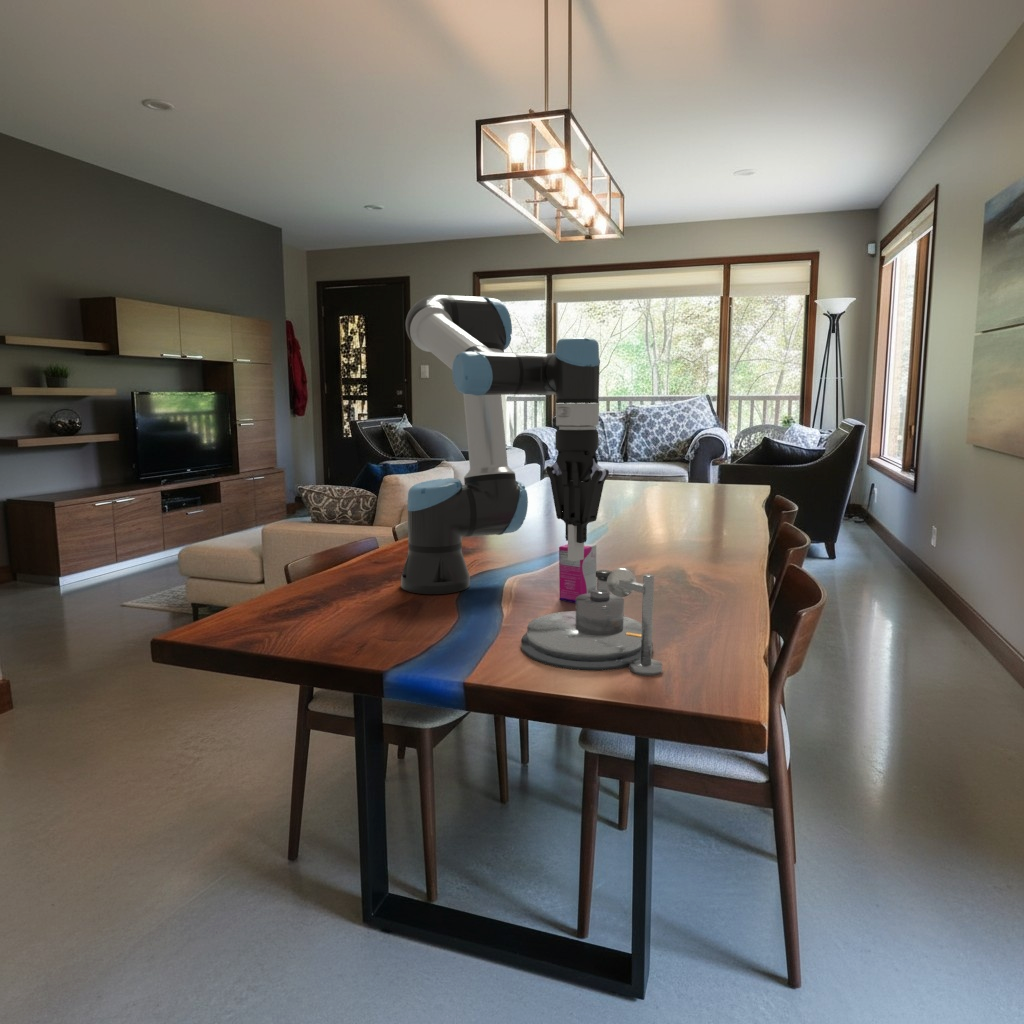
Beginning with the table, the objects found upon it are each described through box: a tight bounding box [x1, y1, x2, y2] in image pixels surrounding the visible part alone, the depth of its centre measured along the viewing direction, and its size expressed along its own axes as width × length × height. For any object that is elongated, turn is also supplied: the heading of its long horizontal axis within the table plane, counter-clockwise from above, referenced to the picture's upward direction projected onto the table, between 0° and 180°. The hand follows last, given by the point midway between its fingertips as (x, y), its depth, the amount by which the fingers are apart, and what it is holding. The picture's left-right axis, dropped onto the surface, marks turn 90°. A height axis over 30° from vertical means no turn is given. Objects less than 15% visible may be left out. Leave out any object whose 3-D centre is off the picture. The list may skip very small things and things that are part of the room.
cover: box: [575, 590, 625, 635], centre depth 126 cm, size 8×8×6 cm
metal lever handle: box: [607, 567, 663, 677], centre depth 117 cm, size 10×5×15 cm, turn 64°
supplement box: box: [558, 543, 597, 604], centre depth 156 cm, size 6×6×12 cm
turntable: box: [526, 569, 642, 660], centre depth 126 cm, size 20×20×10 cm
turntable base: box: [520, 632, 654, 672], centre depth 127 cm, size 22×22×1 cm
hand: (575, 559), depth 136 cm, fingers closed
